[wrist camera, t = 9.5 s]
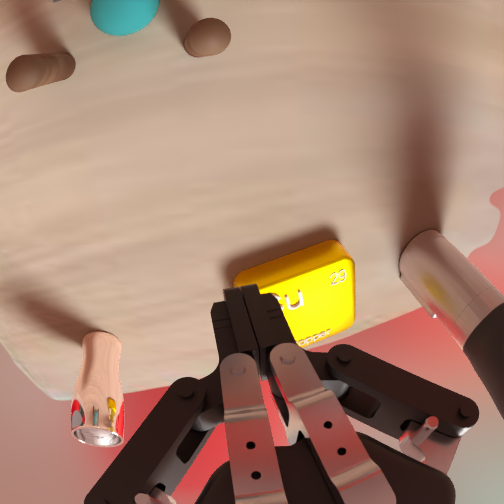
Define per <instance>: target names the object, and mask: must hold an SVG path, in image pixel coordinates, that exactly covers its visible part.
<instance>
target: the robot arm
mask: <svg viewBox="0 0 504 504" xmlns="http://www.w3.org/2000/svg"><path fill="white" fill-rule="evenodd" d="M399 269H400V272H401V277H400V279H401V281H402V282H403V283H404V284H405V285H406V287H407V288H408V289H409V290H410V291H411V293H412V294H413V295H414V296H415V298H416V299H417V300H418V301H419V303H420V304H421V305H422V306H423V308H424V309H425V310H426V311H427V313H428V314H429V315H430V316H431V317H432V318H436V317H438V319H439V320H440V321H441V322H442V324H443V325H444V326H445V328H446V329H447V330H448V332H449V333H450V334H451V336H452V337H453V338H454V339H455V341H456V342H457V343H458V345H459V346H460V348H461V349H462V350H463V351H464V353H465V354H466V356H467V357H468V359H469V360H470V362H471V364H472V366H473V367H474V370H475V371H476V373H477V374H478V376H479V377H480V379H481V380H482V382H483V384H484V385H485V387H486V389H487V390H488V392H489V394H490V396H491V397H492V399H493V401H494V403H495V405H496V407H497V409H498V410H499V412H500V414H501V416H502V417H503V419H504V296H503V295H502V293H501V292H499V290H498V289H497V288H496V287H495V286H494V285H493V284H492V283H491V282H490V281H489V280H488V279H487V278H486V277H485V276H484V275H483V274H482V273H481V272H480V271H479V270H478V269H477V268H476V267H475V266H474V265H473V264H472V263H471V262H470V261H469V260H468V259H467V258H466V257H465V256H464V255H463V254H462V253H461V252H460V251H459V250H458V249H457V248H455V247H454V246H453V245H452V244H451V243H450V242H449V241H448V240H447V239H446V238H445V237H444V236H442V235H441V234H440V233H439V232H438V231H436V230H427V231H424V232H422V233H420V234H419V235H417V236H416V237H415V238H414V239H412V240H411V242H410V243H409V244H408V245H407V247H406V248H405V250H404V251H403V253H402V255H401V258H400V262H399ZM223 293H224V300H225V301H222V302H216V303H214V304H213V306H212V309H211V318H212V323H213V328H214V333H215V339H216V344H217V349H218V354H219V364H218V366H217V368H216V369H215V371H214V372H213V373H211V374H210V375H208V376H206V377H204V378H202V379H200V380H198V379H196V378H192V377H184V378H180V379H178V380H176V381H175V382H174V383H173V384H172V385H171V386H170V387H169V389H168V390H167V391H166V393H165V394H164V395H163V397H162V398H161V399H160V401H159V402H158V403H157V405H156V406H155V407H154V409H153V410H152V411H151V413H150V414H149V415H148V416H147V418H146V419H145V420H144V422H143V423H142V424H141V426H140V427H139V428H138V430H137V431H136V432H135V434H134V435H133V436H132V438H131V439H130V440H129V441H128V443H127V444H126V445H125V447H124V448H123V449H122V450H121V452H120V453H119V454H118V456H117V457H116V458H115V460H114V461H113V462H112V464H111V465H110V466H109V467H108V469H107V470H106V471H105V473H104V474H103V475H102V477H101V478H100V479H99V480H98V482H97V483H96V484H95V485H94V487H93V488H92V489H91V490H90V492H89V493H88V494H87V496H86V497H85V500H84V504H177V503H176V501H175V500H174V499H173V498H172V497H171V494H172V493H173V491H174V490H175V488H176V487H177V485H178V484H179V483H180V481H181V479H182V478H183V477H184V475H185V474H186V472H187V470H188V469H189V468H190V466H191V465H192V463H193V461H194V460H195V458H196V457H197V455H198V454H199V452H200V451H201V449H202V448H203V446H204V445H205V443H206V441H207V439H208V438H209V437H210V435H211V433H212V432H213V430H214V429H215V426H217V425H218V424H221V423H222V422H225V430H226V438H227V446H228V453H229V461H227V462H225V463H224V464H222V465H221V466H220V467H219V468H218V469H217V470H216V471H215V472H214V473H213V474H212V475H211V477H210V478H209V480H208V482H207V484H206V485H205V487H204V489H203V490H202V492H201V494H200V496H199V497H198V499H197V501H196V502H195V504H455V488H454V485H453V483H452V481H451V480H450V478H449V477H448V476H447V472H448V470H449V468H450V465H451V463H452V460H453V458H454V455H455V453H456V450H457V447H458V445H459V442H460V439H461V437H462V435H463V434H464V433H466V431H468V430H469V429H470V428H471V427H472V426H473V425H474V424H475V423H476V422H477V420H478V418H479V410H478V406H477V405H476V403H475V402H474V401H473V400H471V399H470V398H467V397H465V396H463V395H460V394H458V393H455V392H453V391H451V390H448V389H446V388H443V387H441V386H439V385H437V384H434V383H432V382H430V381H427V380H425V379H423V378H421V377H419V376H416V375H414V374H412V373H410V372H407V371H405V370H403V369H401V368H398V367H396V366H394V365H392V364H390V363H387V362H385V361H383V360H381V359H379V358H377V357H374V356H372V355H370V354H368V353H366V352H363V351H361V350H359V349H357V348H355V347H353V346H351V345H347V344H340V345H336V346H334V347H332V348H331V349H330V350H329V352H328V353H321V352H310V351H306V350H304V349H302V348H301V347H300V346H299V345H298V344H297V343H296V341H295V339H294V336H293V334H292V332H291V329H290V327H289V325H288V322H287V320H286V318H285V316H284V313H283V311H282V309H281V306H280V304H279V301H278V299H277V298H276V297H274V296H273V295H272V294H271V293H265V294H260V291H259V289H258V286H257V284H256V283H255V284H250V285H245V286H240V287H234V288H228V289H223ZM260 377H261V380H267V379H268V382H269V385H270V394H271V397H272V400H273V402H274V404H275V407H276V409H277V412H278V414H279V416H280V418H281V421H282V423H283V426H284V428H285V431H286V434H287V439H288V442H289V445H290V446H279V447H278V446H274V442H273V437H272V432H271V427H270V423H269V418H268V414H267V410H266V408H265V405H264V400H263V395H262V391H261V385H260ZM346 414H347V415H349V416H350V417H352V418H354V419H357V420H358V421H361V422H363V423H364V424H367V425H369V426H371V427H373V428H375V429H377V430H379V431H381V432H383V433H385V434H388V435H390V436H392V437H394V438H396V439H398V440H399V446H400V449H401V450H402V452H403V453H405V454H406V455H405V454H403V453H401V452H399V451H397V450H395V449H393V448H391V447H389V446H387V445H385V444H383V443H381V442H379V441H377V440H375V439H374V438H371V437H370V436H368V435H365V434H363V433H360V432H356V431H355V430H354V428H353V426H352V425H351V423H350V421H349V419H348V417H347V415H346ZM407 455H408V456H407Z"/></svg>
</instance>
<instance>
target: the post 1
mask: <svg viewBox="0 0 504 504" xmlns="http://www.w3.org/2000/svg"><path fill="white" fill-rule="evenodd" d="M74 70H75V59H74V58H73V56H71V55H70V54H31V55H21V56H19V57H17V58H15V59H14V60H13V61H12V62H11V64H10V65H9V67H8V69H7V73H6V82H7V85H8V87H9V88H10V89H11V90H12V91H14V92H23V91H26V90H29V89H33V88H36V87H39V86H43V85H46V84H50V83H53V82H57V81H61V80H65V79H67V78H69V77H70V76H71V75H72V74H73V72H74Z"/></svg>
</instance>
